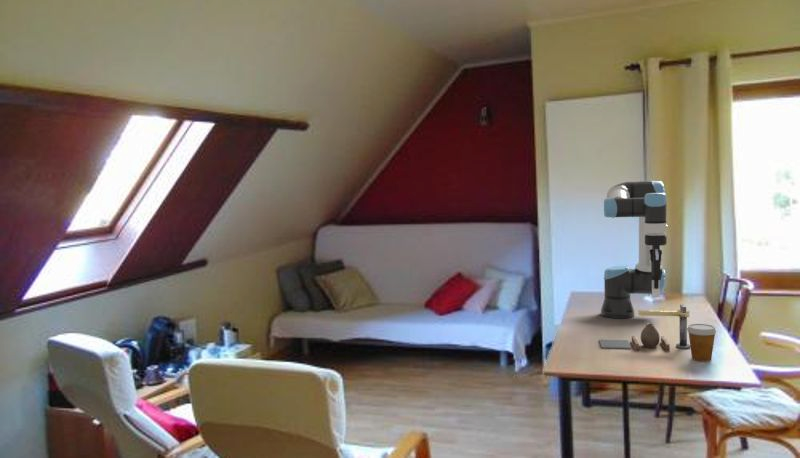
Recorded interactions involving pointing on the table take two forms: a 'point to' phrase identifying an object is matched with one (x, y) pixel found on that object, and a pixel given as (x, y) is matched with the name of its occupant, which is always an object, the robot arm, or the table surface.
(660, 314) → the latch
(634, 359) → the table surface
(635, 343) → the cradle
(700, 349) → the disposable coffee cup
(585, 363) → the table surface
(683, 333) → the post
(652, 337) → the vase
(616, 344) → the mat
